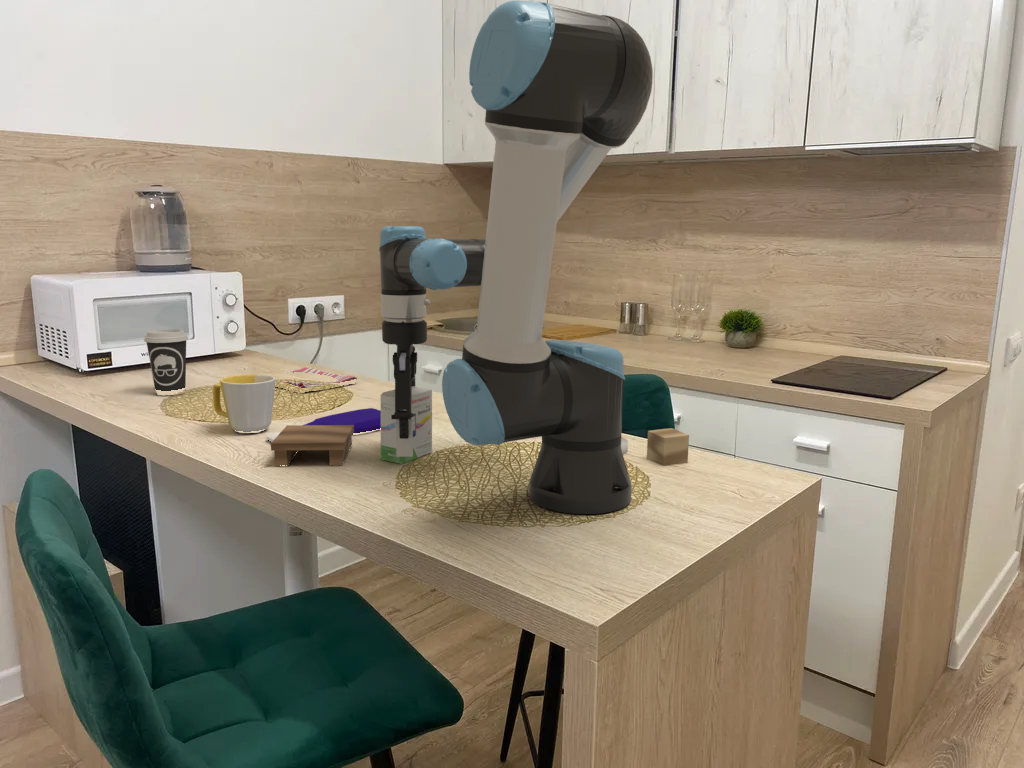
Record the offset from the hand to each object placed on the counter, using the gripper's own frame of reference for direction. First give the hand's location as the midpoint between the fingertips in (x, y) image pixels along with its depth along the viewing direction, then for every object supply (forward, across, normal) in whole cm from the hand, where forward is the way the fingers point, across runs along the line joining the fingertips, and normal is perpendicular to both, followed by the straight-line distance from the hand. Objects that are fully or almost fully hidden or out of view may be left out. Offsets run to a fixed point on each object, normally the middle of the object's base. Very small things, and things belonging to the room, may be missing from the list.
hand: (406, 447), depth 133 cm
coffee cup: (+2, +55, +60) cm, 81 cm away
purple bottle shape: (+2, +17, +16) cm, 23 cm away
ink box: (+2, 0, 0) cm, 2 cm away
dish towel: (+2, +67, +31) cm, 74 cm away
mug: (+2, +20, +33) cm, 39 cm away
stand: (+2, +1, +16) cm, 16 cm away
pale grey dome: (+2, +3, -35) cm, 35 cm away
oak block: (+2, -4, -45) cm, 45 cm away
